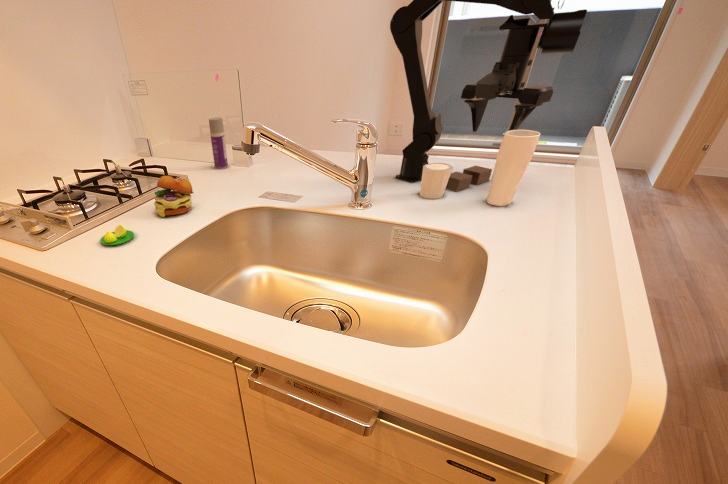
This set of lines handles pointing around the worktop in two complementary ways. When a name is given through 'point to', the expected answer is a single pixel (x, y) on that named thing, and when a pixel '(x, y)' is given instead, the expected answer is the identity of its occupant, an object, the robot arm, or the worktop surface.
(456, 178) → the walnut block near
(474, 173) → the walnut block far
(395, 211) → the worktop surface
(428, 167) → the cream cup
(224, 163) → the container
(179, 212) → the cheeseburger
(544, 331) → the worktop surface
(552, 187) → the worktop surface
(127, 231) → the lemon
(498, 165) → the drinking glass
